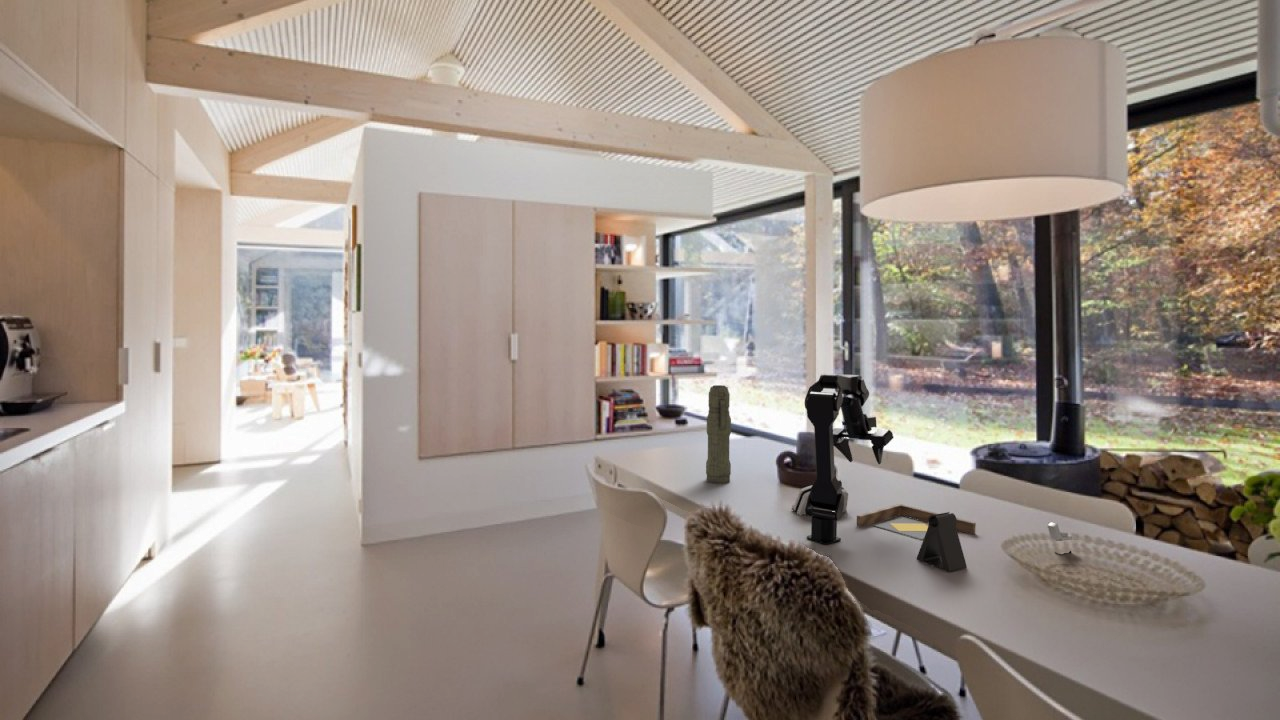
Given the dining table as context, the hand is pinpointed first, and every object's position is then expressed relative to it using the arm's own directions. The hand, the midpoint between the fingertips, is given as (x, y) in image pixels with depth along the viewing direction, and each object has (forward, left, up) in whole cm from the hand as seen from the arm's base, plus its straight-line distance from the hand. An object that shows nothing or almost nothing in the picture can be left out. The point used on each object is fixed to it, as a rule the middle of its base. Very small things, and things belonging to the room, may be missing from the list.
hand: (865, 462), depth 187 cm
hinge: (-9, +9, -16) cm, 20 cm away
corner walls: (-1, -17, -16) cm, 23 cm away
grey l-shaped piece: (+11, -48, -16) cm, 52 cm away
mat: (-1, -16, -16) cm, 22 cm away
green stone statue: (-8, +56, -16) cm, 59 cm away
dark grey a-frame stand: (-20, -35, -16) cm, 43 cm away
